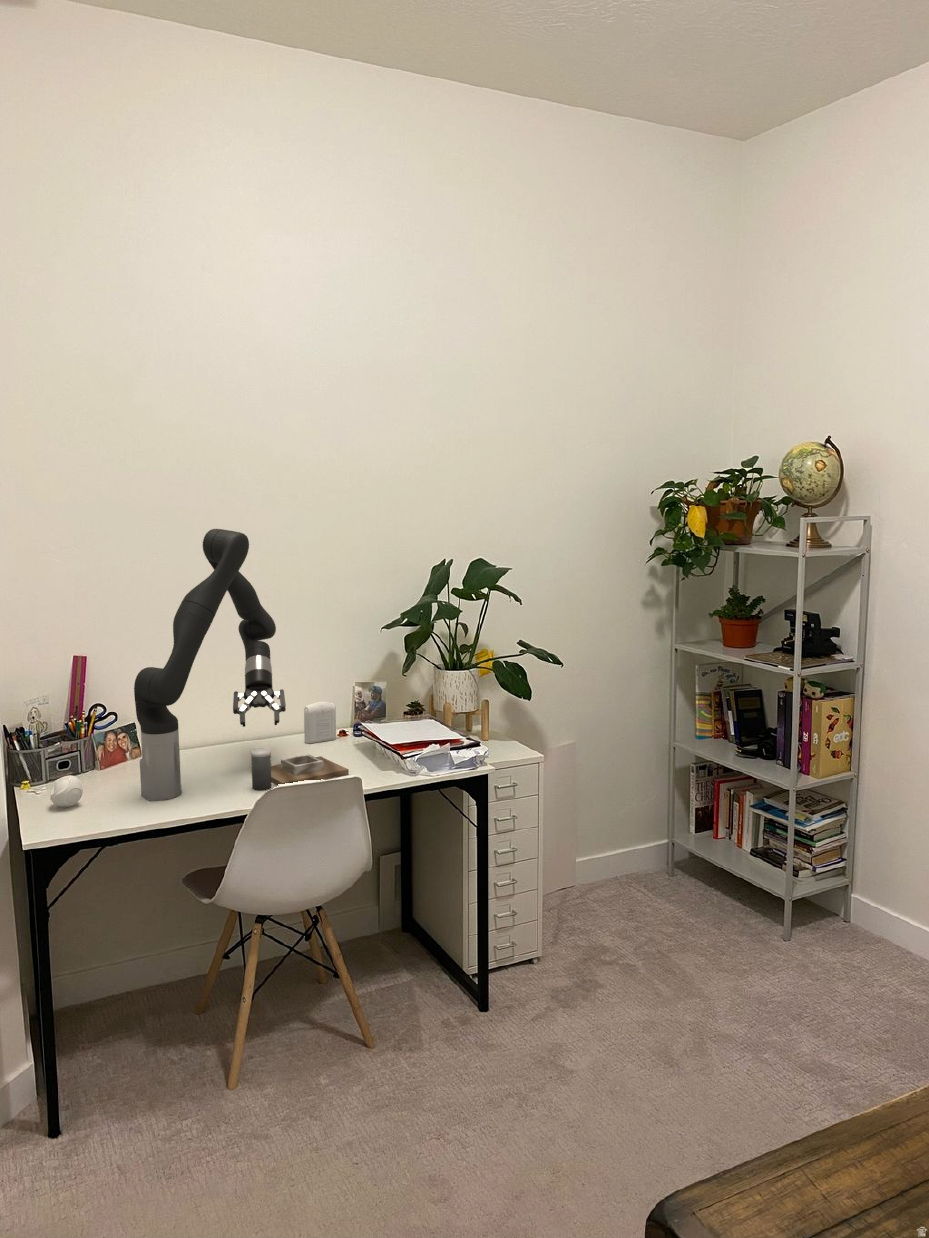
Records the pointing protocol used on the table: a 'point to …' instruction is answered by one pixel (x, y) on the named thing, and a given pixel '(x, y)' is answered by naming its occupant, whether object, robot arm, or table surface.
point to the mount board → (305, 769)
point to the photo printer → (319, 722)
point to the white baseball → (66, 791)
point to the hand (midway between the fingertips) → (260, 724)
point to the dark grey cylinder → (261, 769)
